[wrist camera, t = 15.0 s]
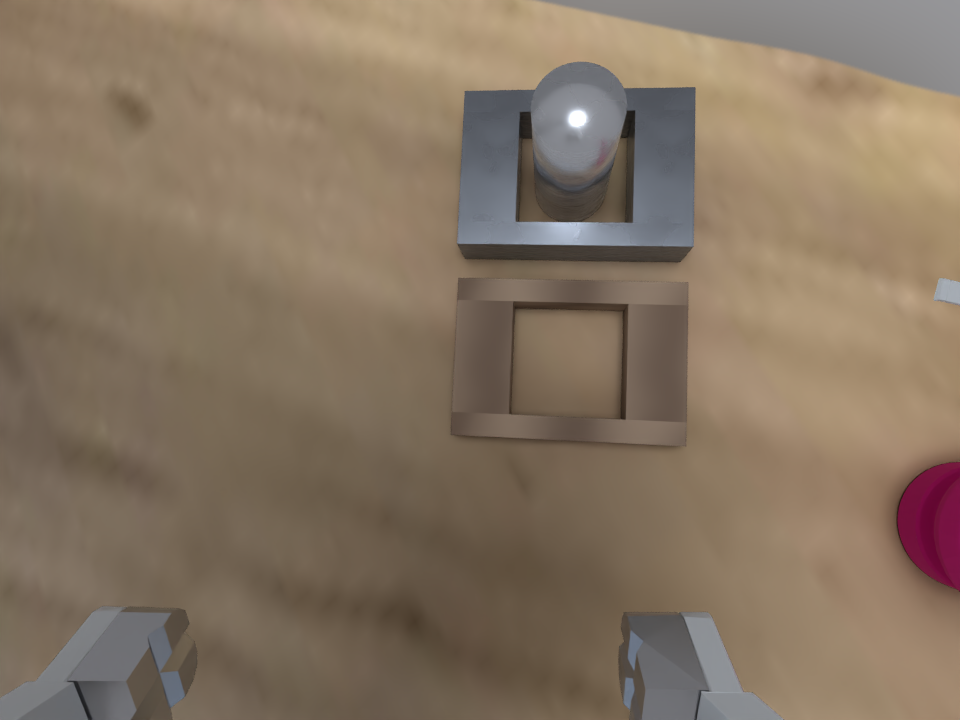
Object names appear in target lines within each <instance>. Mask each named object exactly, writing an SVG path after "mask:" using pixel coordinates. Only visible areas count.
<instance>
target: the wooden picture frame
mask: <svg viewBox="0 0 960 720" xmlns="http://www.w3.org/2000/svg"><path fill="white" fill-rule="evenodd" d="M515 308H533V309H573V310H613V311H623V353H622V397H621V419H600V418H577V417H555V416H533V415H511V398H512V373H513V349H514V324H515ZM687 347H688V282H643V281H591V280H540V279H489V278H459V279H458V299H457V319H456V339H455V360H454V380H453V400H452V420H451V435H466V436H487V437H507V438H527V439H547V440H568V441H588V442H608V443H629V444H649V445H669V446H686V424H687Z"/></svg>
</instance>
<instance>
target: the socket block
mask: <svg viewBox="0 0 960 720" xmlns="http://www.w3.org/2000/svg"><path fill="white" fill-rule="evenodd" d="M624 91H625V94H626V99H627V112H626V117H625V121H624V124H623V128H622V132H621V136H620V137H627V181H626V223H598V222H519V199H520V174H521V150H522V138H532V122H531V102H532V98H533V95H534V92H535V90H499V91H465V99H464V119H463V139H462V159H461V179H460V199H459V219H458V239H457V244H458V246H459V248H460V250H461V252H462V254H463V256H464V258H465V259H515V260H578V261H642V262H681V260H682V259H683V258H684V257H685V256H686V255H687V254H688V252H689V251H690V250H691V249H692V248H693V247H694V165H695V87H686V88H624Z"/></svg>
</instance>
